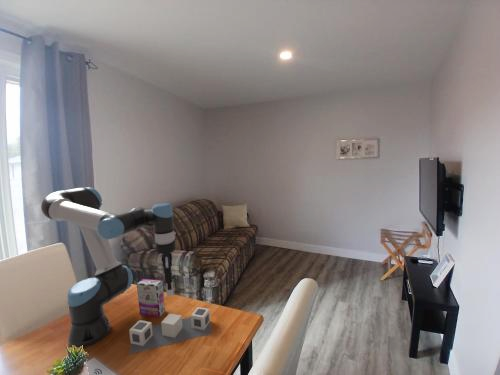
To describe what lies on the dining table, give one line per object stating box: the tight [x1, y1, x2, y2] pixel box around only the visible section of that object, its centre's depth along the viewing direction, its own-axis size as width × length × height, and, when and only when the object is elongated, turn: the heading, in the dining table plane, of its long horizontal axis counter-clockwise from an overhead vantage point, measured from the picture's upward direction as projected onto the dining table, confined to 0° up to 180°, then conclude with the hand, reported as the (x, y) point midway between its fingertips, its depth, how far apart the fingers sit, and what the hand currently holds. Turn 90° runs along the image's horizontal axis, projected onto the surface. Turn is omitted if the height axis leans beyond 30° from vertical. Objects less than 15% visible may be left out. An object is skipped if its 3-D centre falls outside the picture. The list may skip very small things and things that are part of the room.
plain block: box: [160, 312, 183, 338], centre depth 106 cm, size 6×6×6 cm
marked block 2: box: [190, 306, 211, 330], centre depth 109 cm, size 6×6×6 cm
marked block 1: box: [129, 319, 153, 346], centre depth 102 cm, size 6×6×6 cm
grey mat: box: [129, 316, 213, 355], centre depth 106 cm, size 32×14×1 cm, turn 108°
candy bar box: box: [136, 278, 166, 318], centre depth 118 cm, size 11×5×16 cm, turn 76°
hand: (170, 295), depth 103 cm, fingers closed
